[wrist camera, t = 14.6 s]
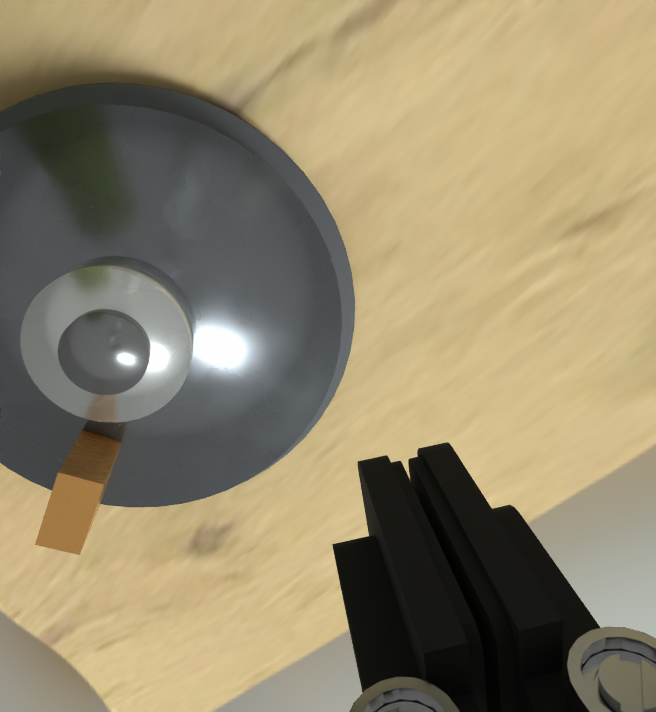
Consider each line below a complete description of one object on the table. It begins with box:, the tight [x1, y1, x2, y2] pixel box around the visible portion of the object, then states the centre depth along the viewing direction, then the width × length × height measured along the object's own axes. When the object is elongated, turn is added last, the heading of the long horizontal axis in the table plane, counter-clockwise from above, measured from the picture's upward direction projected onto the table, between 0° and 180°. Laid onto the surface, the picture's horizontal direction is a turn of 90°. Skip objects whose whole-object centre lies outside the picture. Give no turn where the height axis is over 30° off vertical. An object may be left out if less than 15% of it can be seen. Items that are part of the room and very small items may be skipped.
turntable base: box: [0, 83, 355, 482], centre depth 29 cm, size 22×22×1 cm
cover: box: [20, 256, 196, 422], centre depth 25 cm, size 7×7×4 cm
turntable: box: [0, 104, 342, 555], centre depth 26 cm, size 20×20×6 cm
